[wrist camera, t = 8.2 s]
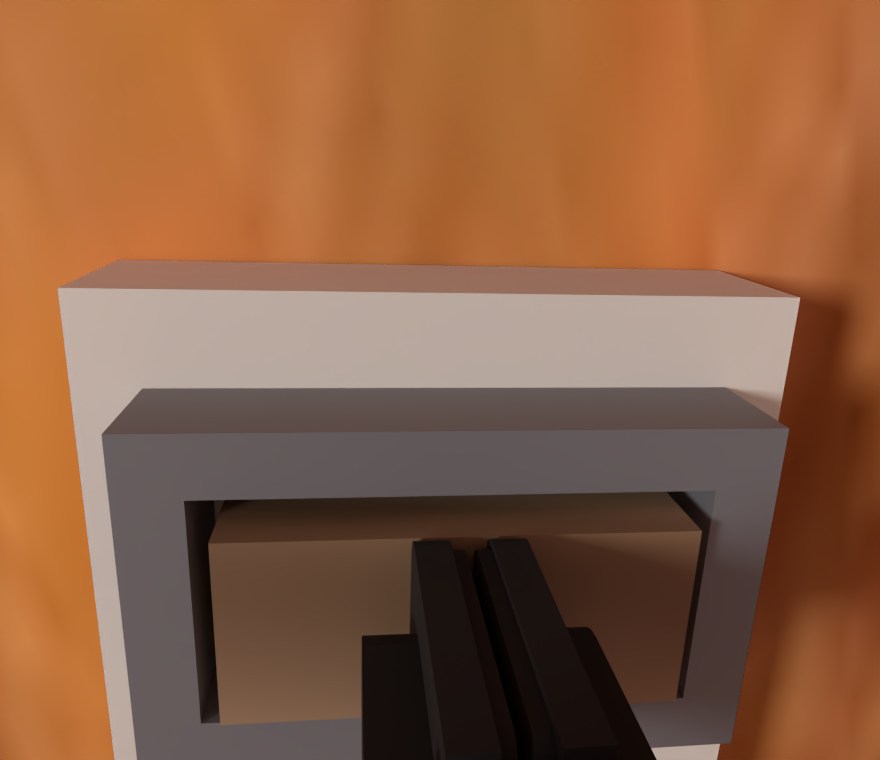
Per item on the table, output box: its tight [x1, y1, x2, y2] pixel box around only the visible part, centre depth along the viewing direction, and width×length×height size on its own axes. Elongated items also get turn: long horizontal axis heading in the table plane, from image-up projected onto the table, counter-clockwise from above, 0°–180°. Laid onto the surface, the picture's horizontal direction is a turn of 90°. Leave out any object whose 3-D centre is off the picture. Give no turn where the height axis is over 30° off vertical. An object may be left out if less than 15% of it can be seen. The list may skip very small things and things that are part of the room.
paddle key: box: [208, 492, 702, 725], centre depth 12 cm, size 3×7×2 cm, turn 88°
